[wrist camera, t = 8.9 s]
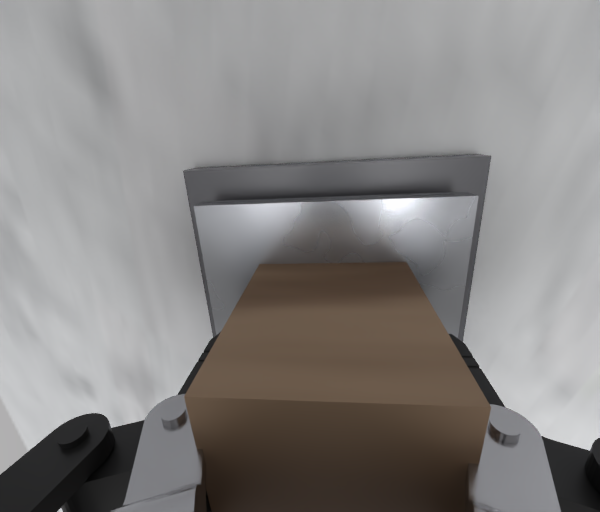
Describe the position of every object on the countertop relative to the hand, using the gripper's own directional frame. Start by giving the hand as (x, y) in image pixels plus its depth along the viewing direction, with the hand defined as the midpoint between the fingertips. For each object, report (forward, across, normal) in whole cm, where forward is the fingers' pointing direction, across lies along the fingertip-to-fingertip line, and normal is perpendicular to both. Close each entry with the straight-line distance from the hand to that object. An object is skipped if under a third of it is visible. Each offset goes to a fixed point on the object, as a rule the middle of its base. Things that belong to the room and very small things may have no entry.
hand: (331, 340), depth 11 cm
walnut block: (+1, 0, 0) cm, 1 cm away
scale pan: (+3, 0, +1) cm, 3 cm away
